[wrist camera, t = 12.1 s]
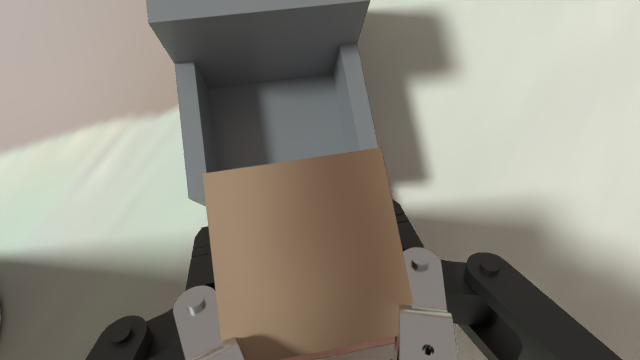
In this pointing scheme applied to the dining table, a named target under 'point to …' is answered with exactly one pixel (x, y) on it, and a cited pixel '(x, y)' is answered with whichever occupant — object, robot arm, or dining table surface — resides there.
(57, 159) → the dining table surface
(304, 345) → the walnut block
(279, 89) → the block
